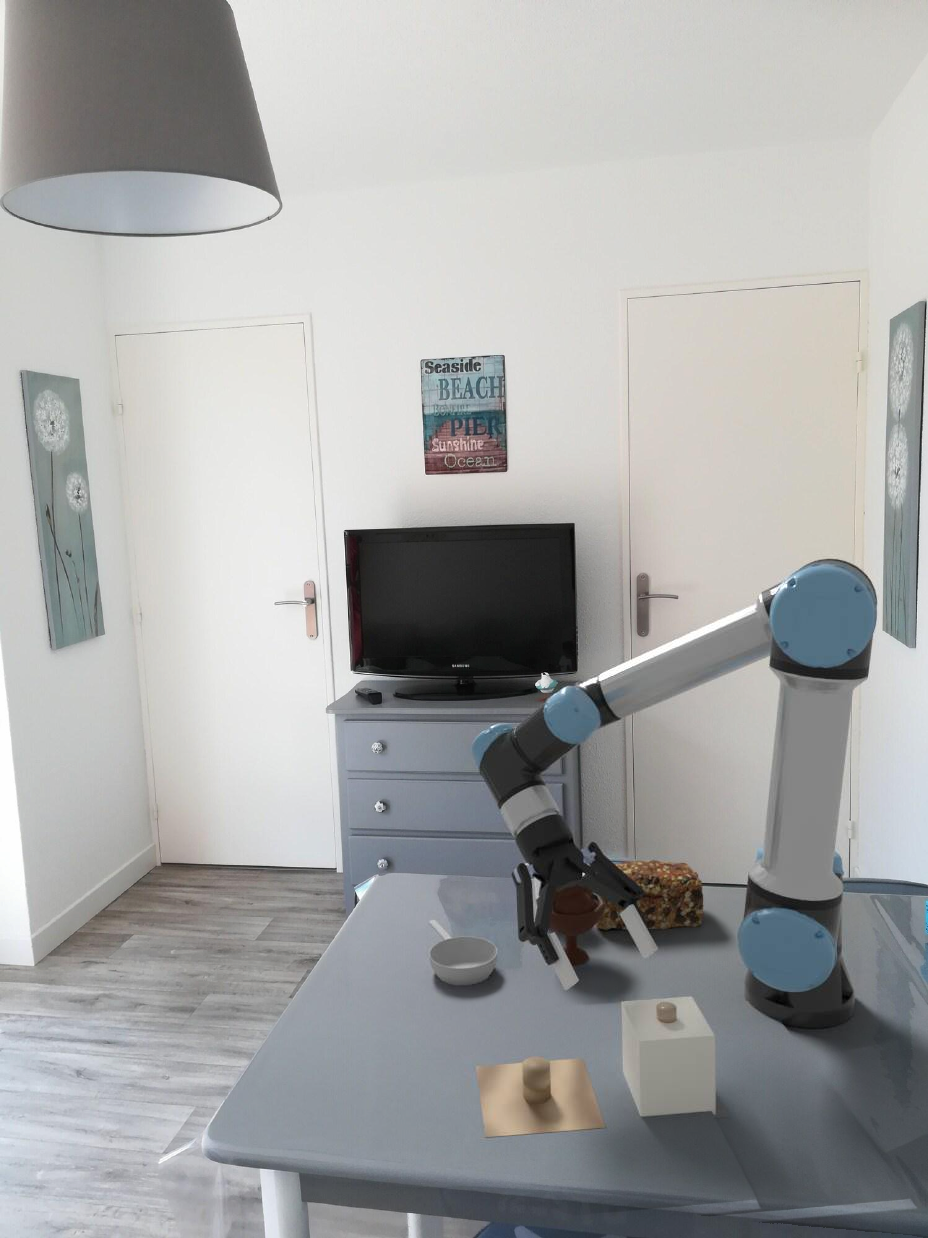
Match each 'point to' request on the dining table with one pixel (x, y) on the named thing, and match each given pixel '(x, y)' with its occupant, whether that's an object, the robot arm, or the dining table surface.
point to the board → (517, 1116)
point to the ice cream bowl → (575, 918)
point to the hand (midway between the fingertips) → (612, 969)
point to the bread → (660, 895)
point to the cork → (536, 1080)
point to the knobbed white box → (668, 1056)
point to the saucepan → (462, 958)
